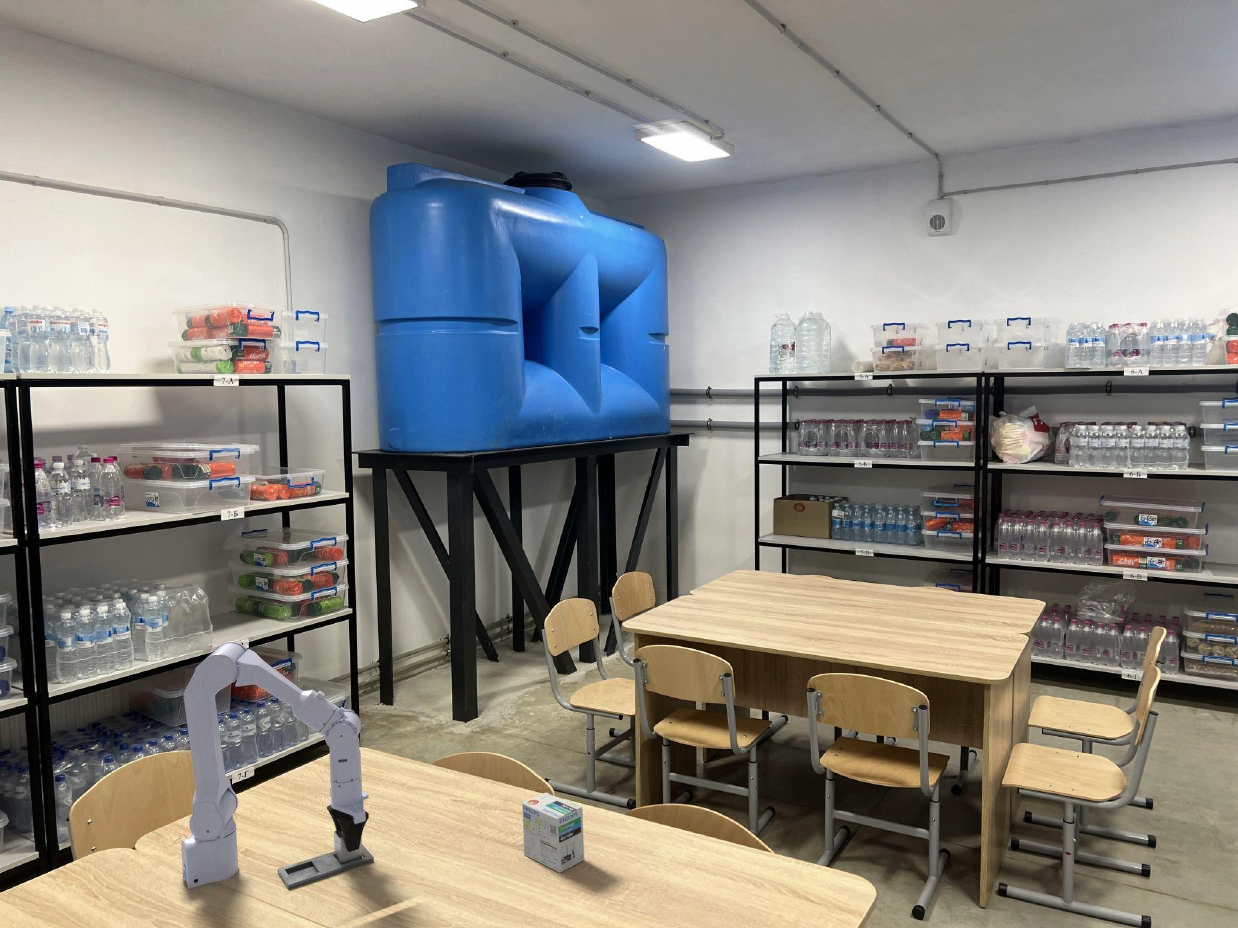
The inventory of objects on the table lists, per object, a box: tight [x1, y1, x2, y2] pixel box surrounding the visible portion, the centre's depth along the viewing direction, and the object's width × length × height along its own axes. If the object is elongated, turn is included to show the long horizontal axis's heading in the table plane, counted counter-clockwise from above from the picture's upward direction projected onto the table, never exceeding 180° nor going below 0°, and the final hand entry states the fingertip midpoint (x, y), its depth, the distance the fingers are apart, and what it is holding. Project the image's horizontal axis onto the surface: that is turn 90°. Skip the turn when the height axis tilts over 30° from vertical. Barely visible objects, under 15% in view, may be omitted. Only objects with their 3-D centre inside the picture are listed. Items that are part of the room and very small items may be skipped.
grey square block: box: [333, 829, 363, 865], centre depth 173 cm, size 4×4×5 cm
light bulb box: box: [521, 792, 585, 874], centre depth 174 cm, size 11×7×11 cm, turn 47°
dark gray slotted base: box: [277, 844, 375, 890], centre depth 171 cm, size 16×7×2 cm, turn 126°
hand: (349, 844), depth 173 cm, fingers closed on grey square block, 4 cm apart
